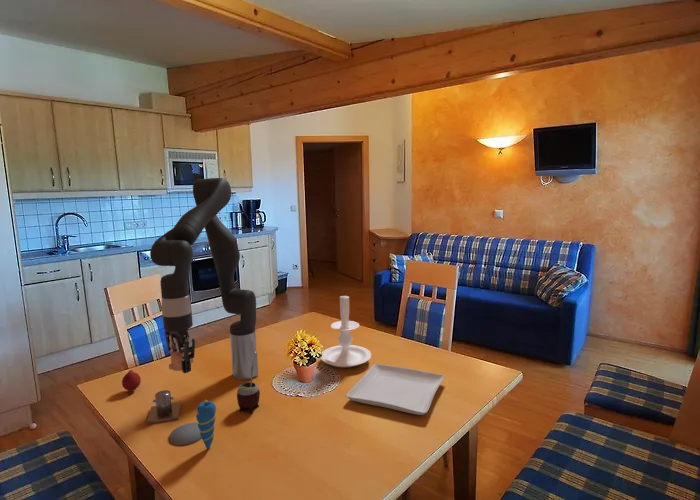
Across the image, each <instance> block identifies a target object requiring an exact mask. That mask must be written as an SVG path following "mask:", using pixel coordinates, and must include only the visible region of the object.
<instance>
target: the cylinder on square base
mask: <svg viewBox="0 0 700 500" xmlns="http://www.w3.org/2000/svg"><path fill="white" fill-rule="evenodd" d="M154 398H155V399H152V403H153V404H154V403H155V405H154V406H153V405H152V406H151V407H150V409H149V413H148V416H147V419H146V425H153V424H158V423H164V422H169V421H177V420H179V419H180V414H181V408H182V401H178V402H172V400H174V398H175V397H174V396H171V391H170V390H167V389H166V390H160V391H158V392H157V393H155V395H154Z"/></svg>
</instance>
